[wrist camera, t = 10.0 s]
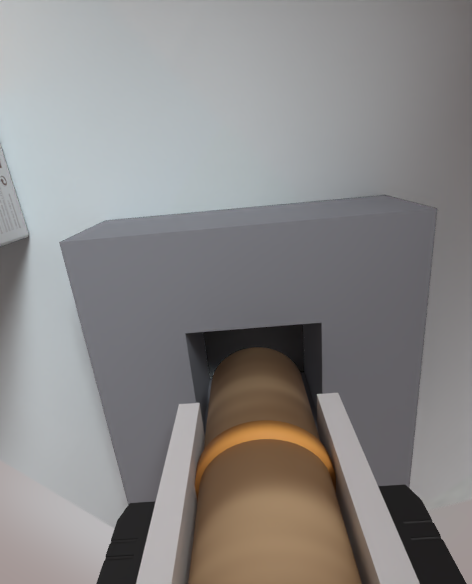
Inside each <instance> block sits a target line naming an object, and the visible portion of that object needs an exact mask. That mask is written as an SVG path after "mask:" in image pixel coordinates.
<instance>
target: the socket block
mask: <svg viewBox="0 0 472 584" xmlns="http://www.w3.org/2000/svg"><path fill="white" fill-rule="evenodd" d="M436 216H437V208H433V207H430V206H426V205H422V204H418V203H414V202H410V201H406V200H402V199H398V198H395V197H391V196H387V195H380V196H369V197H358V198H347V199H336V200H325V201H314V202H303V203H292V204H281V205H270V206H259V207H248V208H237V209H227V210H216V211H205V212H194V213H183V214H172V215H161V216H150V217H139V218H128V219H117V220H106V221H103V222H101V223H99V224H97V225H95V226H93V227H91V228H88V229H86V230H84V231H82V232H80V233H78V234H76V235H74V236H72V237H69V238H67V239H65V240H63V241H61V242H59V243H60V247H61V250H62V254H63V258H64V262H65V266H66V269H67V273H68V277H69V281H70V285H71V288H72V292H73V296H74V300H75V304H76V307H77V311H78V315H79V319H80V323H81V326H82V330H83V334H84V338H85V342H86V345H87V349H88V353H89V357H90V360H91V364H92V368H93V372H94V376H95V379H96V383H97V387H98V391H99V395H100V398H101V402H102V406H103V410H104V414H105V417H106V421H107V425H108V429H109V433H110V436H111V440H112V444H113V448H114V452H115V455H116V459H117V463H118V467H119V470H120V474H121V478H122V482H123V486H124V489H125V493H126V497H127V501H128V505H129V504H130V503H139V502H154V501H156V498H157V494H158V490H159V485H160V481H161V477H162V473H163V469H164V465H165V460H166V456H167V452H168V448H169V444H170V439H171V435H172V431H173V427H174V423H175V419H176V414H177V410H178V406H179V404H189V403H200V409H201V415H202V422H203V429H204V435H205V434H206V425H207V417H208V408H209V400H210V391H211V383H212V379H210V377H209V369H208V362H207V354H206V347H205V340H204V332H209V331H221V330H234V329H247V328H259V327H272V326H285V325H297V324H303V346H304V372H302V373H300V374H301V377H302V380H303V383H304V387H305V390H306V394H307V397H308V401H309V404H310V407H311V411H312V414H313V418H314V421H315V424H316V428H317V394H326V393H338V394H339V396H340V398H341V401H342V403H343V405H344V408H345V410H346V412H347V415H348V417H349V419H350V422H351V424H352V426H353V429H354V431H355V433H356V436H357V438H358V440H359V443H360V445H361V447H362V450H363V452H364V454H365V457H366V459H367V461H368V464H369V466H370V468H371V471H372V473H373V475H374V478H375V480H376V483H377V485H378V486H389V485H406V486H407V487H408V488H409V485H410V475H411V465H412V455H413V445H414V435H415V425H416V415H417V405H418V395H419V385H420V375H421V365H422V355H423V345H424V335H425V325H426V315H427V305H428V295H429V286H430V276H431V266H432V256H433V246H434V236H435V226H436Z"/></svg>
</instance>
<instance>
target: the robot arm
mask: <svg viewBox="0 0 472 584" xmlns="http://www.w3.org/2000/svg"><path fill="white" fill-rule="evenodd" d="M317 431H318V435H319V438H320V441H321V443H322V444H323V445H324V447H325V448H326V450H327V451H328V454H329V456H330V458H331V461H332V465H333V468H334V471H335V475H336V496H337V500H338V503H339V506H340V510H341V513H342V517H343V520H344V523H345V527H346V530H347V534H348V537H349V540H350V544H351V547H352V551H353V554H354V558H355V561H356V564H357V568H358V571H359V575H360V578H361V581H362V584H466V582H465V580H464V578H463V576H462V575H461V573H460V571H459V569H458V567H457V565H456V564H455V562H454V560H453V558H452V556H451V554H450V553H449V551H448V549H447V547H446V545H445V543H444V541H443V540H442V539H441V536H440V534H439V532H438V530H437V528H436V526H435V524H434V523H433V522H432V519H431V517H430V515H429V513H428V511H427V510H426V508H425V506H424V504H423V502H422V500H421V499H420V498H419V497H418V496H417V495H416V494H415V493H414V492H413V491H412V490H411V489H409V488H408V487H407V486H406V485H389V486H378V485H377V483H376V480H375V478H374V475H373V473H372V471H371V468H370V466H369V464H368V461H367V459H366V457H365V454H364V452H363V450H362V447H361V445H360V443H359V440H358V438H357V436H356V433H355V431H354V429H353V426H352V424H351V422H350V419H349V417H348V415H347V412H346V410H345V408H344V405H343V403H342V401H341V398H340V396H339V394H338V393H326V394H317ZM204 443H205V435H204V429H203V422H202V415H201V409H200V403H189V404H179V406H178V410H177V414H176V419H175V423H174V427H173V431H172V435H171V439H170V444H169V448H168V452H167V456H166V460H165V465H164V469H163V473H162V477H161V481H160V485H159V490H158V494H157V498H156V501H154V502H139V503H130V504H129V505H128V507H127V508H126V509H125V511H124V512H123V514H122V515H121V516H120V518H119V519H118V521H117V524H116V527H115V530H114V533H113V536H112V539H111V544H110V545H109V548H108V551H107V554H106V559H105V561H104V563H103V566H102V569H101V572H100V575H99V578H98V581H97V584H188V580H189V571H190V563H191V554H192V545H193V537H194V528H195V520H196V511H197V497H196V491H195V477H196V469H197V464H198V460H199V458H200V456H201V453H202V452H203V450H204Z"/></svg>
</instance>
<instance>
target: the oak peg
mask: <svg viewBox="0 0 472 584" xmlns="http://www.w3.org/2000/svg"><path fill="white" fill-rule="evenodd" d="M195 491H196V497H197V511H196V520H195V528H194V537H193V545H192V554H191V563H190V571H189V580H188V584H362V581H361V578H360V575H359V571H358V568H357V564H356V561H355V558H354V554H353V551H352V547H351V544H350V540H349V537H348V534H347V530H346V527H345V523H344V520H343V517H342V513H341V510H340V506H339V503H338V500H337V496H336V475H335V471H334V468H333V465H332V461H331V458H330V456H329V454H328V451H327V450H326V448H325V447H324V445H323V444H322V443H321V441H320V438H319V435H318V431H317V428H316V424H315V421H314V418H313V414H312V411H311V407H310V404H309V401H308V397H307V394H306V390H305V387H304V383H303V380H302V377H301V374H300V371H299V369H298V368H297V366H296V365H295V363H294V362H293V361H292V360H291V359H290V358H289V357H287V356H286V355H284V354H283V353H281V352H278V351H276V350H273V349H269V348H263V347H252V348H246V349H242V350H239V351H237V352H235V353H233V354H231V355H229V356H228V357H227V358H225V359H224V360H223V361H222V362H221V363H220V364H219V366H218V367H217V369H216V370H215V372H214V375H213V378H212V383H211V391H210V400H209V408H208V417H207V425H206V434H205V443H204V450H203V452H202V453H201V456H200V458H199V460H198V464H197V469H196V477H195Z"/></svg>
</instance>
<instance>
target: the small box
mask: <svg viewBox="0 0 472 584" xmlns="http://www.w3.org/2000/svg"><path fill="white" fill-rule="evenodd" d="M28 236H29V235H28V230H27V227H26V224H25V220H24V217H23V214H22V211H21V208H20V204H19V201H18V198H17V195H16V192H15V189H14V185H13V182H12V179H11V176H10V173H9V170H8V167H7V163H6V161H5V157H4V154H3V151H2V148H1V145H0V247H1V246H4V245H6V244H9V243H12V242H15V241H17V240H20V239H24V238H27V237H28Z"/></svg>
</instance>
